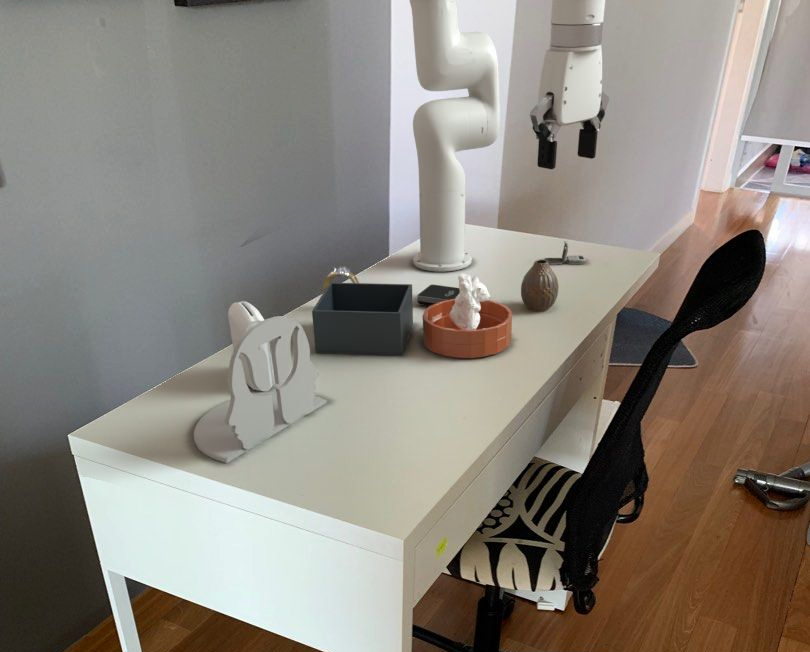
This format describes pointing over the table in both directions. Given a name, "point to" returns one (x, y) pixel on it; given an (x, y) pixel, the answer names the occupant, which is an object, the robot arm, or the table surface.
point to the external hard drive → (436, 294)
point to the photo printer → (240, 323)
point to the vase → (539, 287)
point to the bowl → (467, 331)
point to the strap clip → (570, 259)
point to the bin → (363, 319)
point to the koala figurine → (468, 303)
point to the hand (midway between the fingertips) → (566, 162)
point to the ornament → (263, 412)
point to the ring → (340, 272)
